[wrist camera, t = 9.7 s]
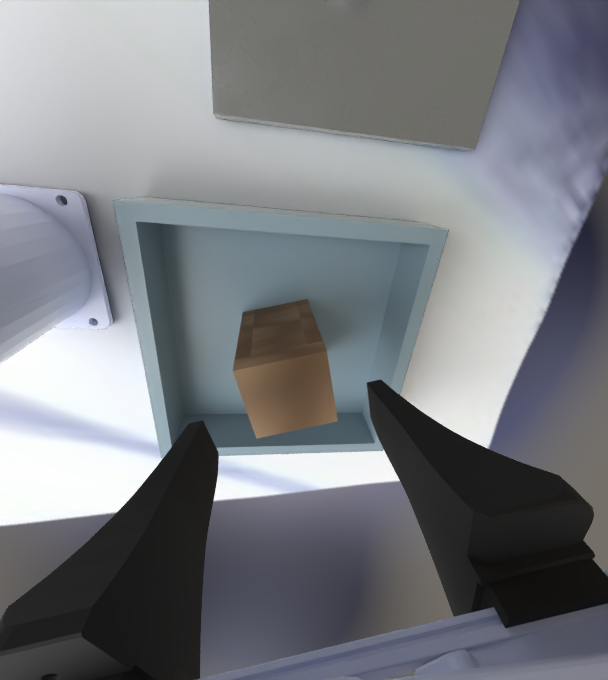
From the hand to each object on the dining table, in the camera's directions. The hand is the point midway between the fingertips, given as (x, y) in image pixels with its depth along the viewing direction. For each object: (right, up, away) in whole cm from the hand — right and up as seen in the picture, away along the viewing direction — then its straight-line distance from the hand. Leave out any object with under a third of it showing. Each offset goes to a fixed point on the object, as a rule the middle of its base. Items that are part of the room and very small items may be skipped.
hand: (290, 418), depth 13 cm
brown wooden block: (-1, +4, +8) cm, 9 cm away
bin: (-1, +4, +8) cm, 9 cm away
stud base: (+4, +21, 0) cm, 21 cm away
